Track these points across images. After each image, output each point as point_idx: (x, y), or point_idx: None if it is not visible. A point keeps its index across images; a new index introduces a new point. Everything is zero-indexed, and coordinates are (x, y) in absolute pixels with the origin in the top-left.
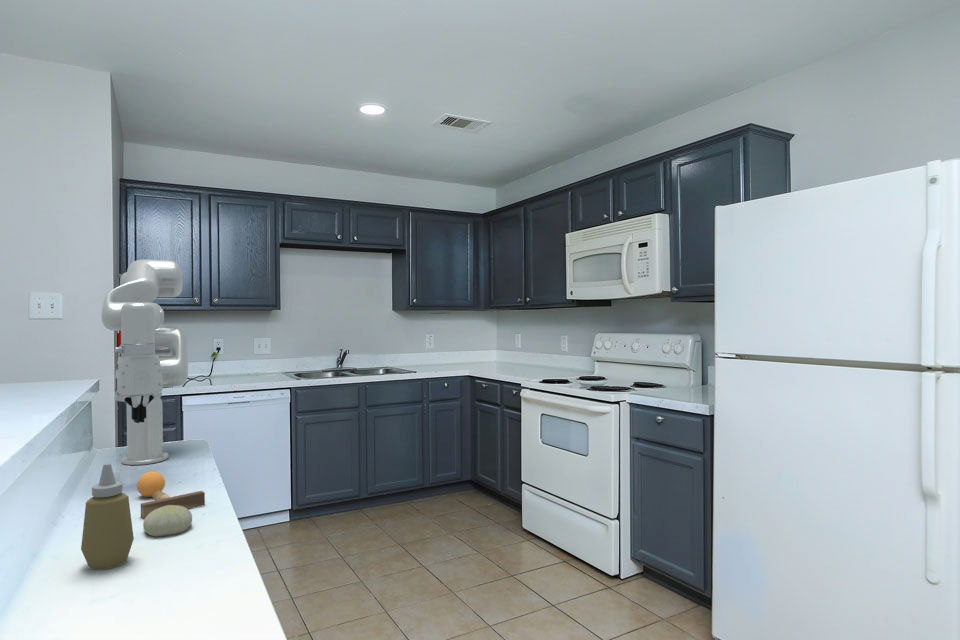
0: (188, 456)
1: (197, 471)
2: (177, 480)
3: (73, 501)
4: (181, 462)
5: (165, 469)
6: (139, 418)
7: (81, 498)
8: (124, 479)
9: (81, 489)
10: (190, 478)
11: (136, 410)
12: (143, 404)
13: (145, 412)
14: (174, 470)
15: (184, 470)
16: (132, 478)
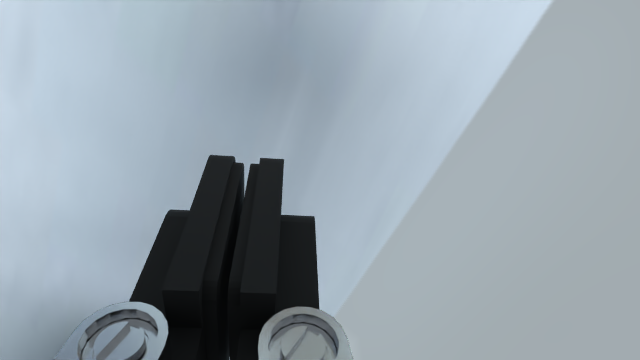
0: (23, 314)
1: (8, 102)
2: (112, 21)
3: (519, 40)
4: (56, 264)
5: (125, 218)
6: (259, 178)
7: (482, 60)
8: None
9: (423, 175)
10: (51, 6)
11: (277, 286)
12: (157, 339)
13: (161, 249)
14: (97, 184)
15: (60, 157)
16: None
